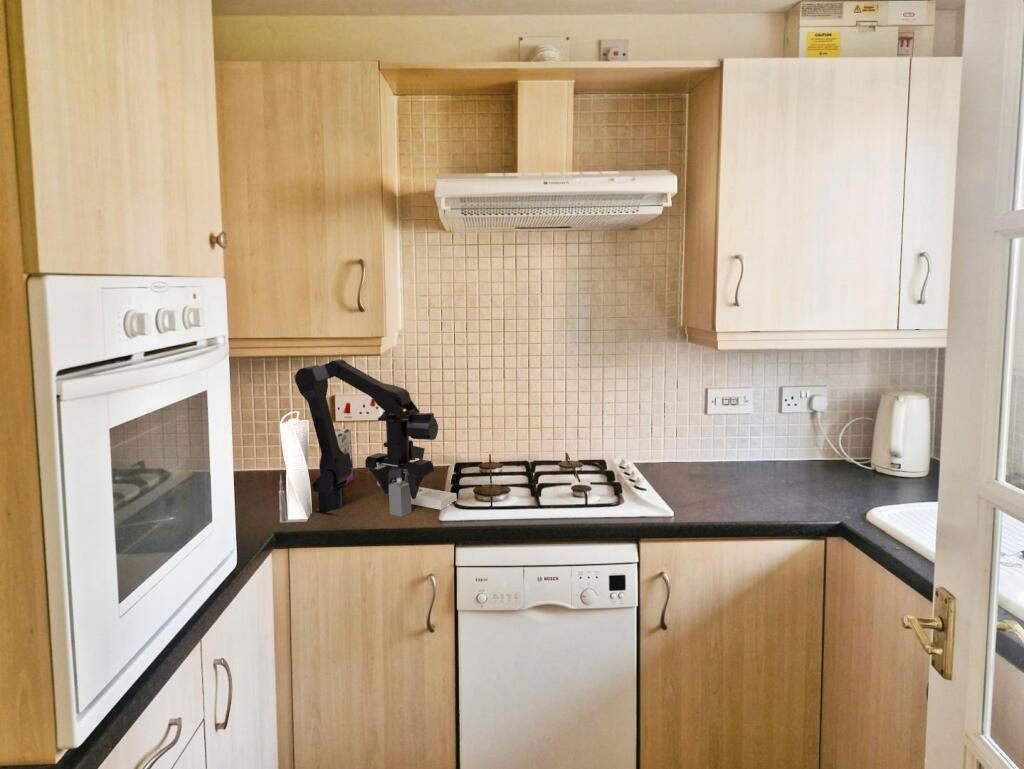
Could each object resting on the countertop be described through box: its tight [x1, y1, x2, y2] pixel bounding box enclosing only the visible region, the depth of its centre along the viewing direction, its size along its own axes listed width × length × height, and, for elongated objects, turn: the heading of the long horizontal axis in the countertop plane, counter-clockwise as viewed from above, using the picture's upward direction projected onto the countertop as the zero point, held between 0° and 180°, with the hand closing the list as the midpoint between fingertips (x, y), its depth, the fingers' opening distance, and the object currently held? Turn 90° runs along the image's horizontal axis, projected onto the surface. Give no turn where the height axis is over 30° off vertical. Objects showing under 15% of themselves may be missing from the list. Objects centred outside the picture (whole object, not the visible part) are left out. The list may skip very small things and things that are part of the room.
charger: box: [388, 478, 412, 518], centre depth 195 cm, size 4×4×10 cm
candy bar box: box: [334, 427, 355, 488], centre depth 225 cm, size 11×5×16 cm, turn 170°
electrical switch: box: [376, 464, 409, 487], centre depth 223 cm, size 9×5×9 cm, turn 113°
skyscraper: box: [278, 410, 313, 523], centre depth 196 cm, size 8×8×28 cm
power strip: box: [411, 486, 458, 510], centre depth 206 cm, size 7×17×4 cm, turn 58°
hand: (400, 496), depth 195 cm, fingers open, 9 cm apart
